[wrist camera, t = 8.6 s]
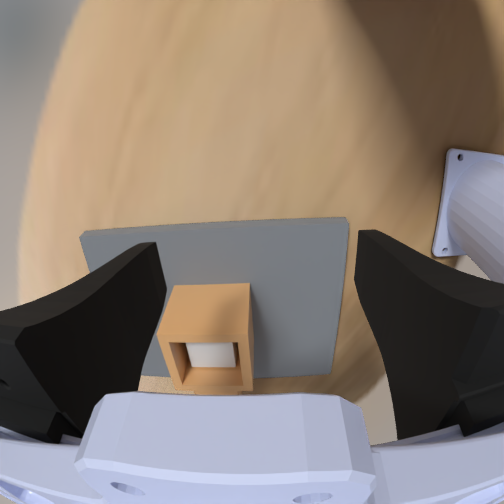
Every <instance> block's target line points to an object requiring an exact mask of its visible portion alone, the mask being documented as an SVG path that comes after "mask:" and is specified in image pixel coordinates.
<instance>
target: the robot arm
mask: <svg viewBox="0 0 504 504" xmlns="http://www.w3.org/2000/svg"><path fill="white" fill-rule="evenodd" d="M459 154H460V158H459V159H458V155H459ZM444 248H445V250H444V251H442V250H443V249H444ZM432 252H433V254H434V255H435V256H437V257H442V256H458V255H468V256H469V257H470V258H471V259H472V260H473V261H474V262H475V263H476V264H477V265H478V266H479V268H480V269H481V270H482V271H483V272H484V273H485V274H486V275H487V276H488V277H489V278H490V279H491V280H492V281H489V280H486V279H483V278H480V277H476V276H473V275H470V274H467V273H464V272H461V271H459V270H456V269H454V268H451V267H449V266H446V265H444V264H442V263H439V262H437V261H435V260H433V259H431V258H429V257H427V256H425V255H423V254H421V253H419V252H417V251H416V250H414V249H412V248H410V247H408V246H406V245H405V244H403V243H401V242H399V241H397V240H396V239H394V238H392V237H390V236H388V235H386V234H384V233H382V232H380V231H378V230H359V232H358V244H357V255H356V266H355V275H354V281H355V285H356V289H357V293H358V296H359V300H360V303H361V305H362V308H363V310H364V312H365V315H366V317H367V320H368V322H369V324H370V327H371V329H372V331H373V334H374V336H375V339H376V341H377V344H378V346H379V349H380V352H381V355H382V358H383V362H384V365H385V370H386V374H387V378H388V382H389V387H390V392H391V397H392V402H393V408H394V415H395V421H396V429H397V439H398V440H397V441H393V442H388V443H383V444H377V445H370V444H369V439H368V435H367V430H366V426H365V422H364V417H363V413H362V409H361V407H359V406H357V405H355V404H353V403H351V402H349V401H347V400H346V399H344V398H342V397H340V396H337V395H334V394H319V393H305V392H294V393H277V394H251V395H199V394H173V393H156V392H143V391H138V386H139V382H140V377H141V372H142V368H143V364H144V361H145V358H146V355H147V352H148V349H149V346H150V344H151V341H152V338H153V336H154V333H155V330H156V328H157V325H158V322H159V320H160V317H161V314H162V311H163V307H164V303H165V298H166V293H167V286H166V282H165V278H164V274H163V269H162V265H161V261H160V257H159V252H158V248H157V243H156V242H144V243H139V244H137V245H135V246H133V247H131V248H129V249H128V250H126V251H124V252H123V253H121V254H120V255H118V256H116V257H115V258H113V259H112V260H110V261H109V262H107V263H106V264H104V265H102V266H101V267H99V268H98V269H96V270H94V271H93V272H91V273H89V274H88V275H86V276H85V277H83V278H81V279H79V280H78V281H76V282H74V283H72V284H70V285H68V286H66V287H64V288H62V289H60V290H58V291H56V292H54V293H51V294H49V295H47V296H44V297H42V298H39V299H37V300H35V301H32V302H29V303H26V304H23V305H20V306H17V307H14V308H11V309H7V310H3V311H0V494H1V495H3V496H4V497H6V498H8V499H10V500H12V501H14V502H15V503H17V504H498V503H500V502H502V501H503V500H504V155H498V154H492V153H485V152H478V151H470V150H463V149H454V148H452V149H449V150H448V152H447V155H446V164H445V173H444V182H443V189H442V196H441V203H440V209H439V215H438V221H437V227H436V232H435V237H434V242H433V247H432Z"/></svg>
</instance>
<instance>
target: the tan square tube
mask: <svg viewBox="0 0 504 504" xmlns="http://www.w3.org/2000/svg"><path fill="white" fill-rule="evenodd" d="M156 335H157V338H158V341H159V344H160V347H161V350H162V353H163V356H164V359H165V362H166V365H167V367H168V370H169V373H170V376H171V379H172V381H173V384H174V387H175V389H176V390H190V391H194V393H195V394H199V395H242V391H253V374H254V332H253V319H252V306H251V293H250V283H237V284H207V285H174V287H173V290H172V293H171V295H170V298H169V301H168V303H167V306H166V309H165V312H164V314H163V317H162V320H161V323H160V326H159V328H158V331H157V334H156ZM223 342H238V343H237V357H236V367H192V365H191V362H190V358H189V354H188V350H187V347H186V343H223Z"/></svg>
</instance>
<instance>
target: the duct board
mask: <svg viewBox="0 0 504 504" xmlns="http://www.w3.org/2000/svg"><path fill="white" fill-rule="evenodd" d="M348 230H349V223H348V221H347V219H346V218H345V217H334V218H300V219H273V220H250V221H229V222H209V223H192V224H175V225H159V226H144V227H130V228H117V229H104V230H91V231H85V232H84V233H83V234H82V235H81V236H80V237H79V238H80V242H81V245H82V248H83V252H84V255H85V258H86V261H87V265H88V268H89V271H90V273H91V272H93V271H94V270H96V269H98V268H99V267H101V266H102V265H104V264H106V263H107V262H109V261H110V260H112V259H113V258H115V257H116V256H118V255H120V254H121V253H123V252H124V251H126V250H128V249H129V248H131V247H133V246H135V245H137V244H139V243H144V242H156V243H157V248H158V252H159V257H160V261H161V265H162V269H163V274H164V278H165V282H166V286H167V293H166V298H165V303H164V307H163V311H162V314H161V317H160V320H159V322H158V325H157V328H156V330H155V333H154V336H153V338H152V341H151V344H150V346H149V349H148V352H147V355H146V358H145V361H144V364H143V368H142V372H141V375H144V376H160V377H171V376H170V373H169V370H168V367H167V365H166V362H165V359H164V356H163V353H162V350H161V347H160V344H159V341H158V338H157V335H156V334H157V331H158V328H159V326H160V323H161V320H162V317H163V314H164V312H165V309H166V306H167V303H168V301H169V298H170V295H171V293H172V290H173V287H174V285H207V284H237V283H250V293H251V306H252V319H253V332H254V374H253V378H275V377H295V376H310V375H323V374H330V373H331V367H332V361H333V355H334V349H335V343H336V336H337V329H338V322H339V315H340V307H341V299H342V291H343V283H344V273H345V264H346V254H347V242H348ZM237 343H238V342H223V343H186V347H187V350H188V354H189V358H190V362H191V365H192V367H236V357H237Z"/></svg>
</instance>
